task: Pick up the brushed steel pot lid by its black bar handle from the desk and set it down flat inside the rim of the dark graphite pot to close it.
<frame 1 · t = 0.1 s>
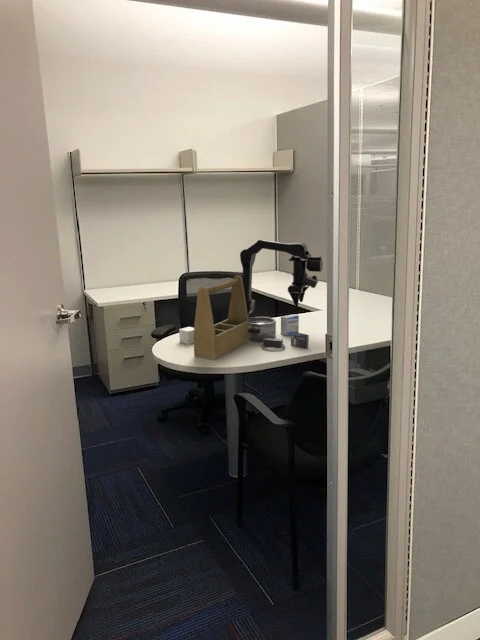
hand: (298, 304, 238), 15 cm above the table, tool pointing down, fingers open, 9 cm apart
caddy: (222, 349, 220), on the table
lid: (273, 348, 222), on the table
white cube: (189, 342, 232), on the table
medicine box: (289, 333, 243), on the table
mini dv tape: (299, 347, 223), on the table
pot: (260, 337, 237), on the table
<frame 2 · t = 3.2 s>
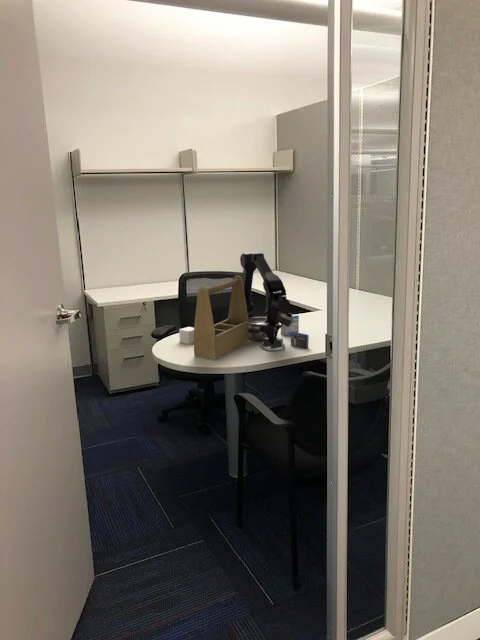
hand: (273, 343, 221), 2 cm above the table, tool pointing down, fingers closed on lid, 3 cm apart
lid: (273, 347, 222), on the table, touching gripper
everything else where it was.
when the fingers open (11 cm above the table, at t = 5.9 s): lid drops 2 cm, resting on pot.
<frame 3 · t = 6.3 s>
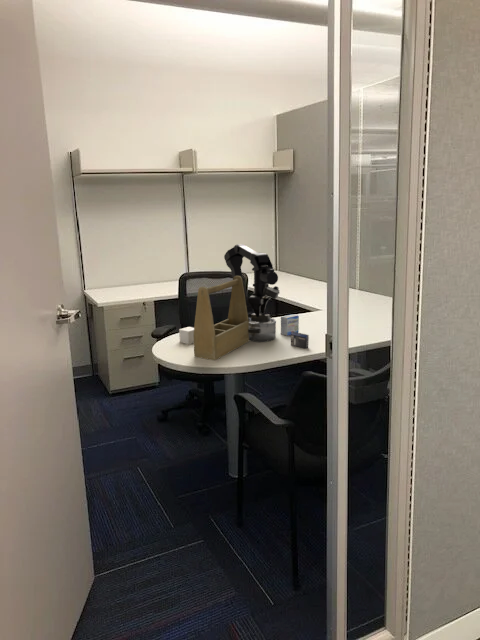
hand: (260, 314, 234), 11 cm above the table, tool pointing down, fingers open, 7 cm apart
lid: (260, 323, 235), point 7 cm above the table, touching pot
everything else where it was.
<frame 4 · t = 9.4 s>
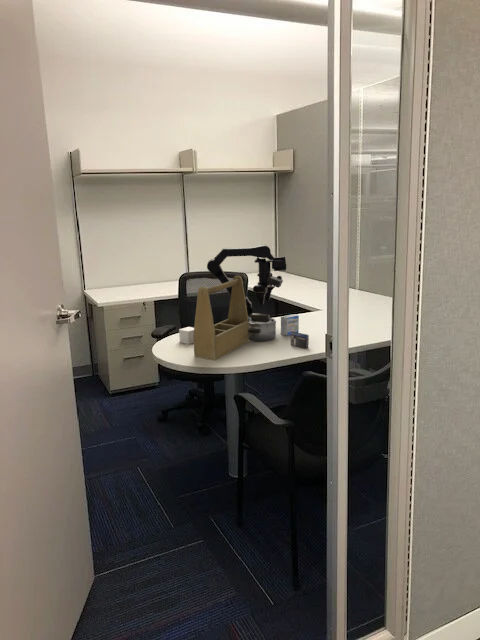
hand: (265, 303, 248), 13 cm above the table, tool pointing down, fingers open, 9 cm apart
nothing on the table moved.
at the end: lid 0.1 cm off-centre on the pot, point 7.0 cm above the pot's base; lid tilted 0°; the gripper is holding nothing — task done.
